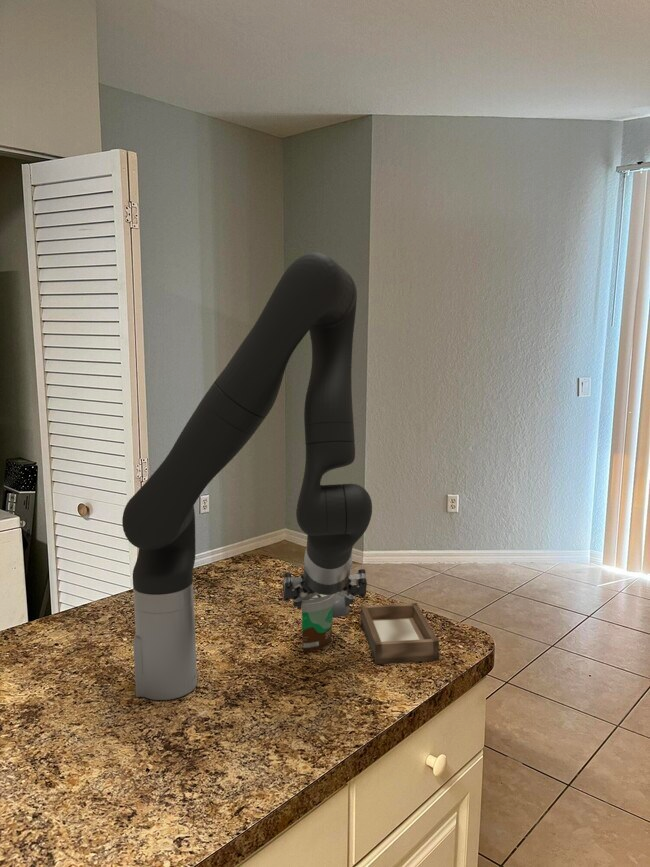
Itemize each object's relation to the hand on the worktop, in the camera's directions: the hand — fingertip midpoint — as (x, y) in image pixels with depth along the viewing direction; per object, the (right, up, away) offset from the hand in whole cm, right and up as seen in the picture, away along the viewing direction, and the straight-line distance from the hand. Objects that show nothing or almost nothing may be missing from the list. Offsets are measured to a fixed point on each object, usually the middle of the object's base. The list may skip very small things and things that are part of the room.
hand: (322, 602), depth 124 cm
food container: (0, -8, +4) cm, 9 cm away
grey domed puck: (+2, -6, +18) cm, 19 cm away
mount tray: (+14, -8, +4) cm, 16 cm away
